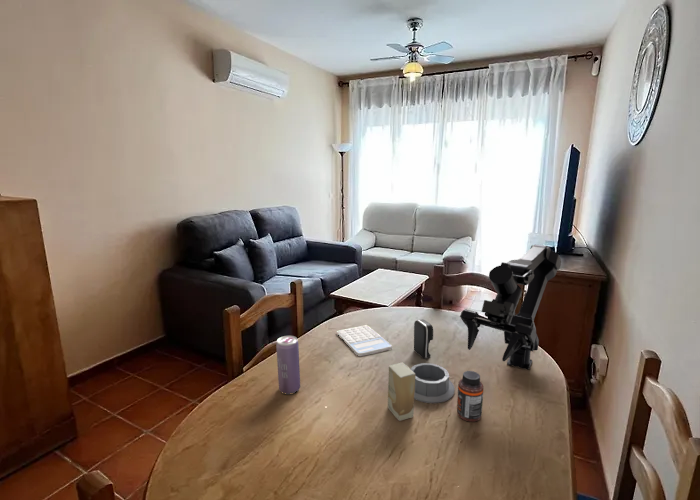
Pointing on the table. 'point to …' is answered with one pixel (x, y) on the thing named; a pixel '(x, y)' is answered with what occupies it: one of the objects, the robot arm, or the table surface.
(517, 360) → the robot arm
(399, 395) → the skincare box
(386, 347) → the calculator
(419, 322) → the battery charger
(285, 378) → the beverage can
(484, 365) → the table surface
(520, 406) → the table surface
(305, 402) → the table surface
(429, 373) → the grey round holder
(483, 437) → the table surface
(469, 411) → the supplement bottle
